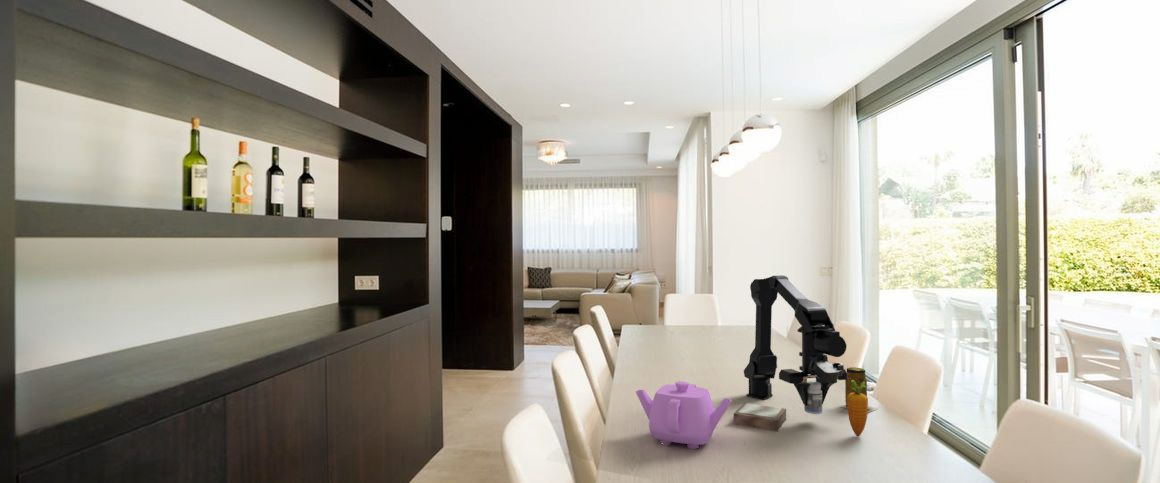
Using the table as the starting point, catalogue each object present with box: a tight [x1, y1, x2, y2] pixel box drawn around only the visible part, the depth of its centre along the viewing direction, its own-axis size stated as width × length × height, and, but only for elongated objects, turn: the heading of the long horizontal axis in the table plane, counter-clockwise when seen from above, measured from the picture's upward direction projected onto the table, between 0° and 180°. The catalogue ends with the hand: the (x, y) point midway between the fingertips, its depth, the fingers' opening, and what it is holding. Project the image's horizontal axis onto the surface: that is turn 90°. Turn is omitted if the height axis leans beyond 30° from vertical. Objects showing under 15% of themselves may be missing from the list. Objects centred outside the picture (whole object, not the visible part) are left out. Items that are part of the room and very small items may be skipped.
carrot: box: [846, 380, 869, 437], centre depth 141 cm, size 5×5×15 cm
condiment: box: [840, 366, 879, 413], centre depth 166 cm, size 7×8×12 cm
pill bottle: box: [803, 380, 823, 415], centre depth 153 cm, size 5×5×8 cm
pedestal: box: [733, 402, 787, 432], centre depth 154 cm, size 12×12×3 cm
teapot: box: [635, 380, 732, 450], centre depth 140 cm, size 19×18×15 cm
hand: (813, 404), depth 153 cm, fingers closed on pill bottle, 5 cm apart
